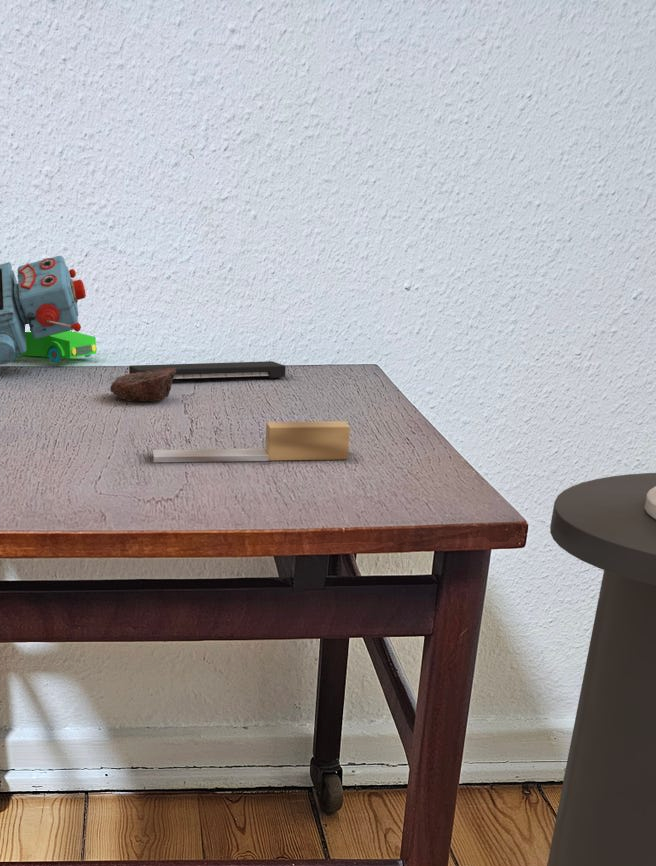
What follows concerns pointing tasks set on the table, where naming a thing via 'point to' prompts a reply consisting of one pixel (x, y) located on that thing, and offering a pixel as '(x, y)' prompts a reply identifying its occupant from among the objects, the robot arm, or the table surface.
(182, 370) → the dark grey flat bar
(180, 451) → the knife
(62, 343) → the toy car
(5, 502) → the table surface
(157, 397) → the stone
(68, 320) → the toy robot
